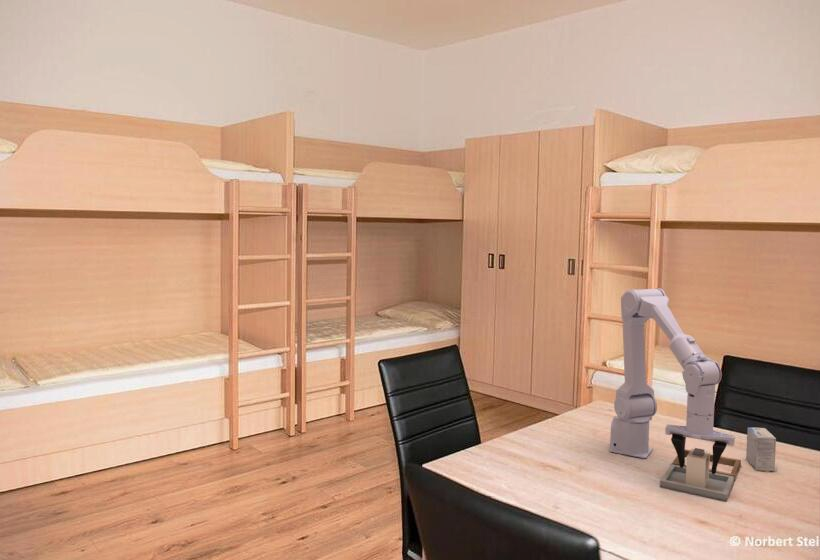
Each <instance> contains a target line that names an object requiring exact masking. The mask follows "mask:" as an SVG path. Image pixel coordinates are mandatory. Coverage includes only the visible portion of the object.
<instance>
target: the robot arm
mask: <svg viewBox="0 0 820 560" xmlns="http://www.w3.org/2000/svg"><path fill="white" fill-rule="evenodd" d="M669 307H670V299H669V297H668V296H667V295H666V292H665V291H664V290H663V289H662V288H660V287H659V288H658V287H655V288H645V289H630V288H629V289H626V291H625V292H623V294H622V296H620V310H621V311H620V312H621V314H620V315H621V320H622V344H623V345H622V346H623V364H624V365H623V368H624V374H623V375H624V383H622V384H621V385H620V386H618V388H617V389H616V391H615V399H614V404H613V408H614V412H615V414H616V415H614V416H613V418H612V420H611V424H610V438H609V439H610V441H609V442H610V443H609V445H610V446H609V452H610V453H616V454H621V455H624V456H632V457H635V458H640V459H647V458H648V456H649V455H650V454H651V453H652V452H653V450H654V448H653V447H649V444H650V443H649V442H650V421H652V419H653V417H654V416H655V415H656V413H657V410H658V403H657V401H656V397H655V390H654V389H653V388H652V387H651V386H650V385H648V384H647V373H646V372H647V371H646V347H645V344H646V343H645V324H646V323H647V322H648V321H649V319H653V321H655V323H656V324H657V325H658V326H659V328H660V330H662V332H663V333H664V334H665V335H666V337H667V338H668V339H669V341H670V343H669V349H670V351H671V353H672V355H674V356H675V359H676V360H677V361H678V363H679V364H680V366H681V368H682V369H683V371H682V373H681V374H682V375H681V376H682V378H683V379H682V380H683V382H684V383H685V384H684V385H685V391H686V393H687V397H686V398H687V400H686V401H687V402H686V421H685V422H686V424H685V425H676V424H666V426H665V435H667V436H670V435H671V438H670V442H671V443H672V445H673V448H674V449H675V453H676V454H677V455H676V457H677V456H678V459H679V465H680V467H681V468H683V467H684V465H685V464H686V463H685V462H686V459H685V458H686V457H685V450H686V449H685V448H686V439H687V438H688V439H689V438H690V439H695V440H700V441H706V442H712V443H713V445H712V455H713V462H712V463H711V470H712V474H715V473H716V471H718V470H717V468H718V465H719V463H718V462H719V459H720V457H721V456H723V453H724V451H725V450H726V447H727V446H730V447H734V446H735V442H736V441H735V439H736V436H735V434H728V433H726V432H725V433H724V432H721V431H718V430H714V419H715V418H714V417H715V400H716V399H715V395H716V385H718V384H719V383H720V382H721V380H722V376H723V373H722V369H721V367H720V365H719V363H718V362H717V361H716V360H714V359H711V358H710V357H709V356H706V354H705V353H704V351H702V349H701V347H700V346H699V345H698V344H697V342H696V340H695V338H694V336H692V335H690V334H685V333H684V332H683V330H682V329H681V327H680V325H679V323H678V321H677V320H676V317H675V316H674V314H673V312H672V311H671V309H670V308H669Z"/></svg>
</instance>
